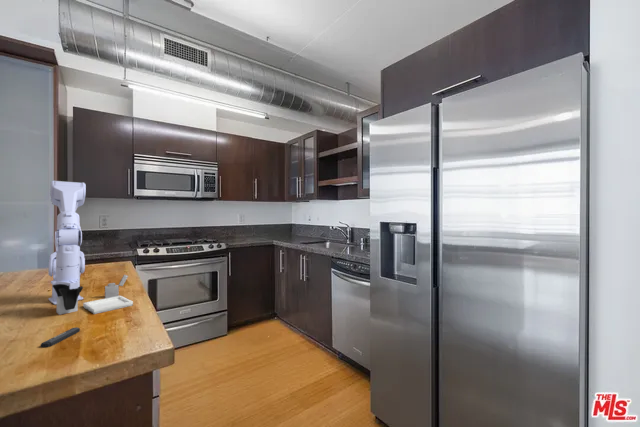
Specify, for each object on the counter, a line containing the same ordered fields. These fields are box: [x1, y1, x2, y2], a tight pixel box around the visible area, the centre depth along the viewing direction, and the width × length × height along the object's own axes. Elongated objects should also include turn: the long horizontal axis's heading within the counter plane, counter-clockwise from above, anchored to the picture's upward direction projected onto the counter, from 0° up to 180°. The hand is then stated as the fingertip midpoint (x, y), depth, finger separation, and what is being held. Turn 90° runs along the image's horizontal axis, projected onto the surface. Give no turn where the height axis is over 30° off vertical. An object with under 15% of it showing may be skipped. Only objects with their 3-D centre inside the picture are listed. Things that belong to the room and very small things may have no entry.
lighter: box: [104, 274, 129, 299], centre depth 108 cm, size 7×2×8 cm, turn 130°
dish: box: [82, 295, 134, 315], centre depth 97 cm, size 11×11×1 cm
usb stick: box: [40, 327, 81, 348], centre depth 72 cm, size 10×3×2 cm, turn 3°
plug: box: [56, 296, 79, 316], centre depth 91 cm, size 4×4×6 cm
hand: (67, 307), depth 91 cm, fingers open, 6 cm apart
